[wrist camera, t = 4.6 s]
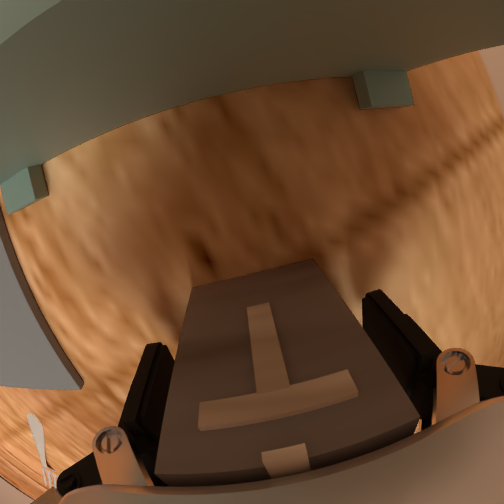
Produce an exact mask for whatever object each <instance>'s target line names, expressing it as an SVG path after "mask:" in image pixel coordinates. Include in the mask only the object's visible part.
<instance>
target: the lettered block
mask: <svg viewBox="0 0 504 504" xmlns="http://www.w3.org/2000/svg"><path fill="white" fill-rule="evenodd" d="M419 419H420V415H419V414H418V412H417V410H416V409H415V407H414V405H413V404H412V402H411V401H410V399H409V397H408V396H407V394H406V393H405V391H404V390H403V388H402V386H401V385H400V383H399V382H398V380H397V379H396V377H395V375H394V374H393V372H392V371H391V369H390V368H389V366H388V365H387V363H386V362H385V360H384V359H383V357H382V356H381V354H380V353H379V351H378V350H377V348H376V347H375V345H374V344H373V342H372V341H371V339H370V338H369V336H368V335H367V333H366V332H365V330H364V329H363V328H362V326H361V325H360V323H359V322H358V320H357V319H356V317H355V316H354V315H353V313H352V312H351V310H350V309H349V307H348V306H347V305H346V303H345V302H344V300H343V299H342V298H341V296H340V295H339V293H338V292H337V291H336V289H335V288H334V286H333V285H332V284H331V282H330V281H329V280H328V278H327V277H326V275H325V274H324V273H323V271H322V270H321V269H320V267H319V266H318V265H317V263H316V262H315V260H314V259H310V260H306V261H302V262H298V263H294V264H290V265H286V266H282V267H278V268H274V269H270V270H266V271H261V272H257V273H253V274H249V275H245V276H241V277H236V278H232V279H228V280H224V281H219V282H215V283H211V284H207V285H202V286H198V287H193V288H192V290H191V294H190V298H189V302H188V306H187V310H186V315H185V319H184V323H183V327H182V332H181V336H180V340H179V345H178V349H177V354H176V358H175V363H174V368H173V372H172V377H171V382H170V387H169V392H168V397H167V402H166V407H165V412H164V418H163V423H162V429H161V435H160V440H159V446H158V452H157V459H156V465H155V472H154V474H155V475H156V476H158V477H159V478H160V479H161V480H162V481H164V482H165V483H166V484H167V485H168V486H170V487H198V486H217V485H230V484H240V483H248V482H256V481H262V480H269V479H275V478H280V477H285V476H290V475H295V474H300V473H304V472H308V471H312V470H316V469H320V468H324V467H327V466H331V465H334V464H338V463H341V462H344V461H347V460H350V459H353V458H356V457H359V456H362V455H365V454H368V453H371V452H373V451H376V450H378V449H381V448H383V447H386V446H388V445H391V444H393V443H395V442H398V441H400V440H402V439H405V438H407V437H409V436H411V435H413V434H414V432H415V429H416V427H417V424H418V421H419Z"/></svg>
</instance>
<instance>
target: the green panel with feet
mask: <svg viewBox="0 0 504 504" xmlns="http://www.w3.org/2000/svg"><path fill="white" fill-rule="evenodd" d="M500 45H504V0H0V187H1V192H2V196H3V200H4V203H5V207H6V211H7V214H8V215H9V214H12V213H14V212H17V211H19V210H21V209H23V208H25V207H27V206H29V205H31V204H33V203H35V202H36V201H38V200H40V199H42V198H44V197H46V196H48V195H49V194H48V191H47V187H46V183H45V179H44V175H43V171H42V167H41V164H43V163H45V162H47V161H49V160H50V159H52V158H54V157H56V156H58V155H60V154H62V153H64V152H65V151H67V150H69V149H71V148H73V147H75V146H78V145H80V144H82V143H84V142H86V141H88V140H90V139H92V138H95V137H97V136H99V135H101V134H104V133H106V132H108V131H111V130H113V129H116V128H118V127H120V126H123V125H126V124H128V123H131V122H133V121H136V120H139V119H141V118H144V117H147V116H150V115H153V114H156V113H159V112H162V111H165V110H168V109H171V108H174V107H177V106H181V105H184V104H187V103H191V102H195V101H198V100H202V99H206V98H210V97H214V96H218V95H222V94H226V93H231V92H235V91H240V90H245V89H250V88H255V87H261V86H266V85H272V84H279V83H286V82H293V81H301V80H310V79H320V78H333V77H350V76H352V78H353V82H354V86H355V90H356V94H357V98H358V102H359V107H360V110H363V109H377V108H397V107H406V106H412V105H414V101H413V97H412V93H411V89H410V85H409V81H408V77H407V73H406V71H409V70H412V69H415V68H418V67H421V66H424V65H427V64H430V63H433V62H436V61H440V60H443V59H446V58H450V57H454V56H457V55H461V54H465V53H469V52H473V51H477V50H481V49H486V48H490V47H495V46H500Z"/></svg>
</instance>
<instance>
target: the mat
mask: <svg viewBox="0 0 504 504" xmlns="http://www.w3.org/2000/svg"><path fill="white" fill-rule="evenodd" d="M83 385H84V382H83V380H82V379H81V378H80V376H79V375H78V373H77V372H76V370H75V369H74V367H73V366H72V364H71V363H70V361H69V360H68V358H67V357H66V355H65V353H64V352H63V350H62V349H61V347H60V345H59V344H58V342H57V340H56V339H55V337H54V335H53V333H52V332H51V330H50V328H49V326H48V324H47V323H46V321H45V319H44V317H43V315H42V313H41V311H40V309H39V307H38V305H37V303H36V301H35V299H34V297H33V295H32V293H31V291H30V289H29V286H28V284H27V282H26V280H25V277H24V275H23V273H22V270H21V268H20V265H19V263H18V260H17V258H16V255H15V252H14V250H13V247H12V244H11V241H10V238H9V235H8V232H7V229H6V226H5V223H4V219H3V216H2V212H1V209H0V386H6V387H16V388H29V389H49V390H81V389H82V387H83Z"/></svg>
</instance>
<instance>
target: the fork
mask: <svg viewBox="0 0 504 504" xmlns="http://www.w3.org/2000/svg"><path fill="white" fill-rule="evenodd" d="M27 417H28V422H29V425H30V429H31V432H32V435H33V438H34V441H35V444H36V446H37V449H38V452H39V456H40V459H41V462H42V465H43V466H44V467H46V468H48V469H50V470H53V471H55V470H54V469H52V468H50V467H48V466H47V464H46V458H45V439H44V432H43V427H42V425H41V423H40V421H39V420H38V419H37V418H36V416H35V415H33V414H32V413H29V414H28V415H27ZM41 470H42V473H43V478H44V483H45V486H46V476H45V471H44V469H43V468H42V467H41ZM46 472H47V474H48V480H49V486H50V488H51V476H50V473H51V472H49V471H47V470H46ZM55 472H56V471H55ZM52 475H53V479H54V487H55V488H56V477H57V475H55V474H53V473H52ZM58 477H59V476H58Z"/></svg>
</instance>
